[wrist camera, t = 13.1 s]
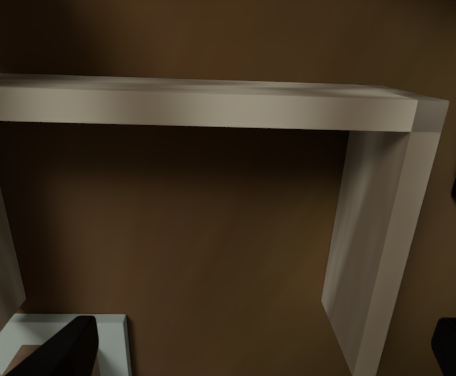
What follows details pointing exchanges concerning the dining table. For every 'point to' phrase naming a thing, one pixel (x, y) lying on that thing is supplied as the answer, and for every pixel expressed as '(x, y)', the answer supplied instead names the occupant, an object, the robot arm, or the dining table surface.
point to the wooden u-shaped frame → (276, 118)
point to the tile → (51, 323)
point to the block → (28, 349)
